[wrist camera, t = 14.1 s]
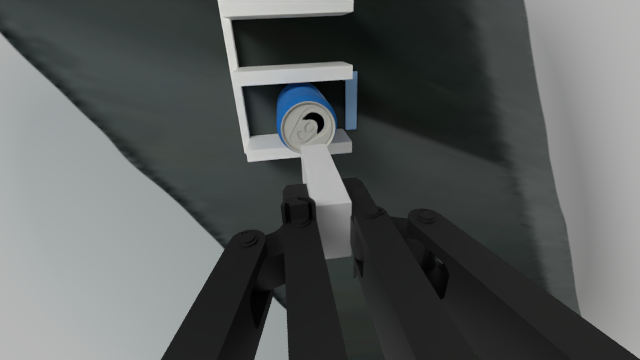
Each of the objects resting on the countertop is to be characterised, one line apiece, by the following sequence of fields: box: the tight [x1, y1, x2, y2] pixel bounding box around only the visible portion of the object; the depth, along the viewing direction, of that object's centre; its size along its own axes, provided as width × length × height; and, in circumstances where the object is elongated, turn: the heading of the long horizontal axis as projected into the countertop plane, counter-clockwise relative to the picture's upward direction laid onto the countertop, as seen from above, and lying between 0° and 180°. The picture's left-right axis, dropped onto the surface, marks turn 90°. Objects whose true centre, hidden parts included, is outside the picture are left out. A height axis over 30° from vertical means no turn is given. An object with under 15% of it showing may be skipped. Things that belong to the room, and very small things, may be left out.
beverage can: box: [277, 82, 337, 154], centre depth 34 cm, size 6×6×12 cm
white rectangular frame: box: [218, 0, 353, 162], centre depth 33 cm, size 28×14×6 cm, turn 3°
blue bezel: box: [345, 71, 357, 130], centre depth 40 cm, size 8×2×1 cm, turn 3°
